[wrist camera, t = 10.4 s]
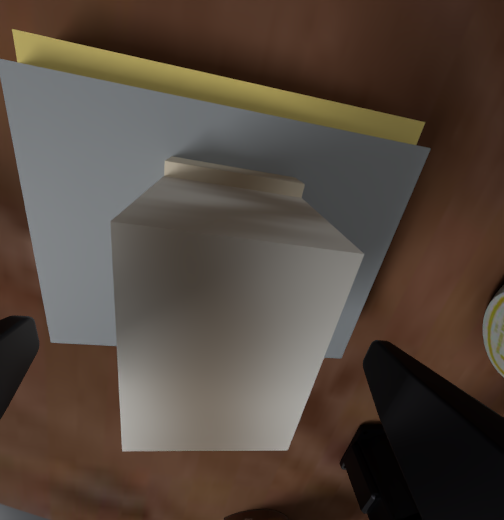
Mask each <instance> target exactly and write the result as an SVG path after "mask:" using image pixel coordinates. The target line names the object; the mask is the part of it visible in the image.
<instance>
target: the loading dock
mask: <svg viewBox="0 0 504 520" xmlns="http://www.w3.org/2000/svg"><path fill="white" fill-rule="evenodd" d="M12 31H13V37H14V43H15V50H16V56H17V62H13V61H8V60H4V59H0V78H1V83H2V88H3V93H4V99H5V104H6V109H7V114H8V120H9V125H10V130H11V135H12V141H13V146H14V151H15V156H16V162H17V167H18V172H19V177H20V183H21V188H22V193H23V198H24V204H25V209H26V214H27V219H28V225H29V230H30V235H31V240H32V246H33V251H34V256H35V261H36V267H37V272H38V277H39V282H40V288H41V293H42V298H43V303H44V308H45V314H46V319H47V324H48V329H49V335H50V340H51V342H53V343H71V344H89V345H107V346H117V341H116V321H115V302H114V283H113V264H112V245H111V225H110V221H111V220H113V219H114V218H115V217H116V216H117V215H118V214H120V213H121V212H122V211H123V210H124V209H126V208H127V207H128V206H129V205H130V204H131V203H133V202H134V201H135V200H136V199H137V198H139V197H140V196H141V195H142V194H143V193H144V192H146V191H147V190H148V189H149V188H150V187H152V186H153V185H154V184H155V183H156V182H157V181H159V180H160V179H161V178H162V177H163V176H164V165H165V160H167V159H168V158H170V157H172V156H173V157H179V158H185V159H191V160H196V161H202V162H208V163H214V164H220V165H225V166H231V167H237V168H243V169H249V170H254V171H260V172H266V173H272V174H278V175H283V176H289V177H295V178H297V179H298V180H299V181H301V182H302V183H304V184H305V186H304V190H303V194H302V199H303V200H305V201H306V202H307V203H308V204H309V205H310V206H311V207H312V208H314V209H315V210H316V211H317V212H318V213H319V214H320V215H321V216H322V217H324V218H325V219H326V220H327V221H328V222H329V223H330V224H331V225H333V226H334V227H335V228H336V229H337V230H338V231H339V232H340V233H342V234H343V235H344V236H345V237H346V238H347V239H348V240H349V241H350V242H352V243H353V244H354V245H355V246H356V247H357V248H358V249H359V250H361V251H362V252H363V253H364V257H363V259H362V262H361V264H360V267H359V269H358V272H357V275H356V277H355V280H354V282H353V285H352V287H351V290H350V292H349V295H348V298H347V300H346V303H345V305H344V308H343V310H342V313H341V315H340V318H339V321H338V323H337V326H336V328H335V331H334V333H333V336H332V338H331V341H330V343H329V346H328V349H327V351H326V354H325V356H324V358H342V355H343V353H344V351H345V348H346V346H347V343H348V341H349V339H350V336H351V334H352V332H353V329H354V327H355V325H356V322H357V320H358V318H359V315H360V313H361V311H362V308H363V306H364V304H365V301H366V299H367V297H368V294H369V292H370V290H371V287H372V285H373V283H374V280H375V278H376V276H377V273H378V271H379V269H380V266H381V264H382V262H383V259H384V257H385V255H386V252H387V250H388V248H389V245H390V243H391V241H392V238H393V236H394V234H395V231H396V229H397V227H398V224H399V222H400V220H401V217H402V215H403V212H404V210H405V208H406V205H407V203H408V201H409V198H410V196H411V194H412V191H413V189H414V187H415V184H416V182H417V180H418V177H419V175H420V173H421V170H422V168H423V166H424V163H425V161H426V159H427V156H428V154H429V152H430V149H431V148H427V147H422V146H417V145H416V144H417V142H418V140H419V137H420V135H421V132H422V130H423V127H424V125H425V122H422V121H417V120H413V119H409V118H404V117H400V116H395V115H391V114H386V113H382V112H378V111H373V110H369V109H364V108H360V107H355V106H351V105H347V104H342V103H338V102H333V101H329V100H324V99H320V98H316V97H311V96H307V95H302V94H298V93H293V92H289V91H284V90H280V89H276V88H271V87H267V86H262V85H258V84H253V83H249V82H245V81H240V80H236V79H231V78H227V77H222V76H218V75H214V74H209V73H205V72H200V71H196V70H191V69H187V68H183V67H178V66H174V65H169V64H165V63H160V62H156V61H151V60H147V59H143V58H138V57H134V56H129V55H125V54H120V53H116V52H112V51H107V50H103V49H98V48H94V47H89V46H85V45H81V44H76V43H72V42H67V41H63V40H58V39H54V38H50V37H45V36H41V35H36V34H32V33H27V32H23V31H18V30H14V29H12Z"/></svg>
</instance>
